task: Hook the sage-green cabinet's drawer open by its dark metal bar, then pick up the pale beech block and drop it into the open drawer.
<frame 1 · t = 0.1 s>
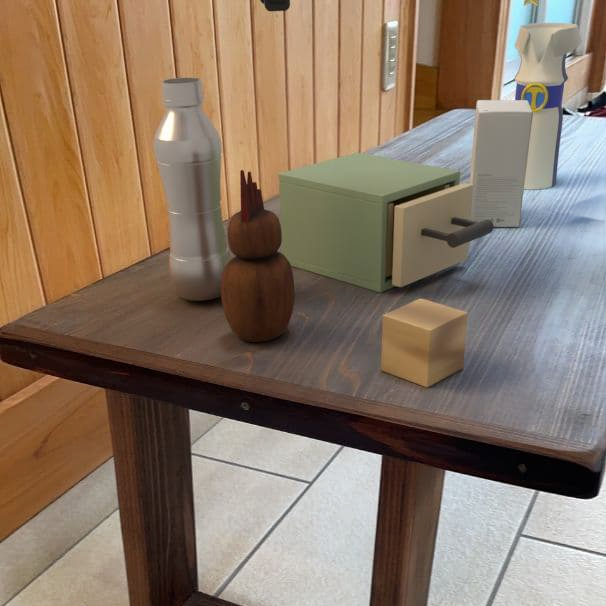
hand: (274, 7, 78), 25 cm above the table, tool pointing down, fingers open, 8 cm apart
cabinet: (367, 262, 96), on the table
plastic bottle: (203, 298, 89), on the table
drawer: (404, 227, 90), point 5 cm above the table, slide at 1.0 cm
wooden figurine: (261, 337, 80), on the table
spray bottle: (529, 184, 122), on the table
block: (422, 369, 73), on the table
small box: (492, 220, 108), on the table
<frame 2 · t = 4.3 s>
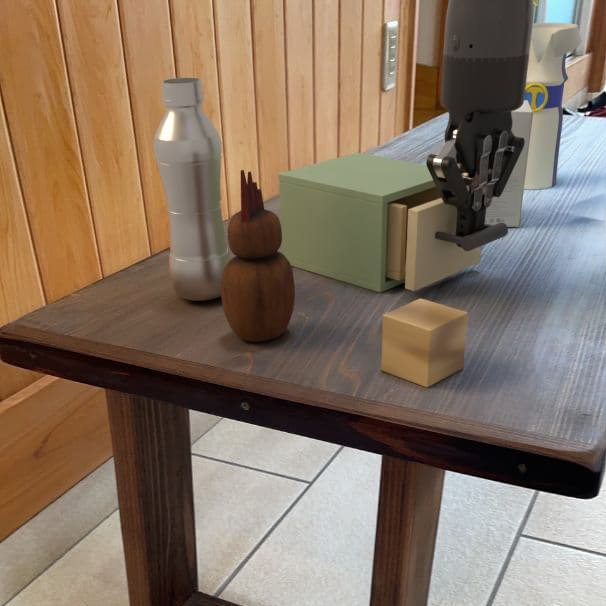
hand: (468, 246, 85), 4 cm above the table, tool pointing down, fingers closed
drawer: (417, 230, 89), point 5 cm above the table, slide at 2.7 cm
everything else where it was.
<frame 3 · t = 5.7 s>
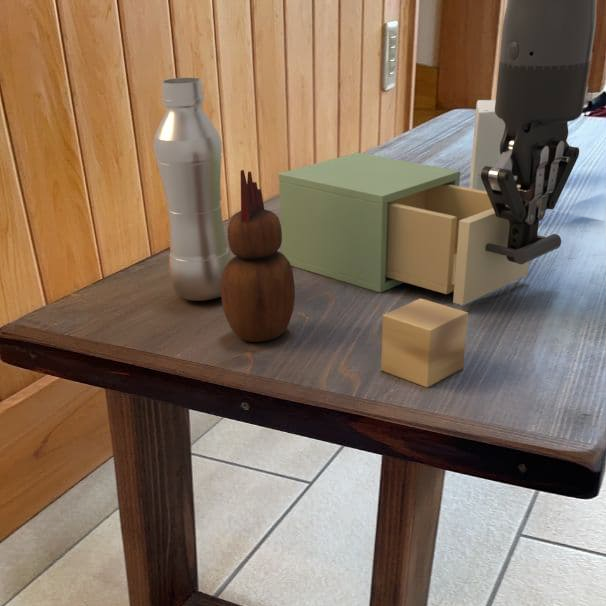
hand: (520, 260, 82), 4 cm above the table, tool pointing down, fingers closed
drawer: (464, 241, 86), point 5 cm above the table, slide at 8.7 cm, touching gripper
everything else where it was.
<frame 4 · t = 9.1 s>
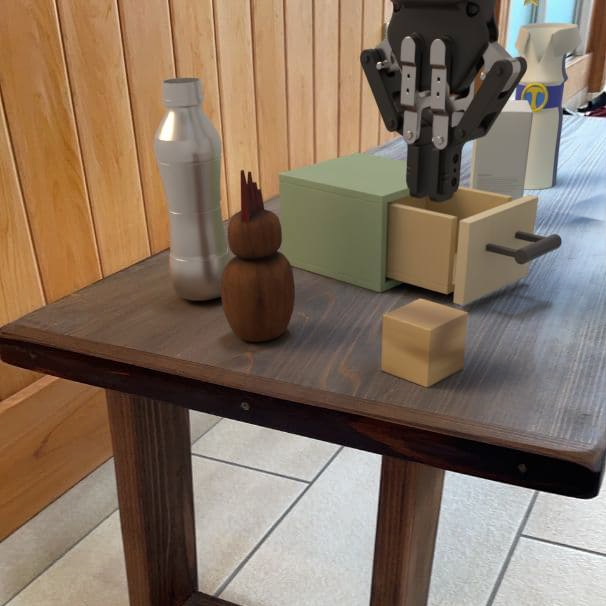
hand: (431, 197, 65), 14 cm above the table, tool pointing down, fingers closed
drawer: (464, 241, 86), point 5 cm above the table, slide at 8.8 cm
everything else where it was.
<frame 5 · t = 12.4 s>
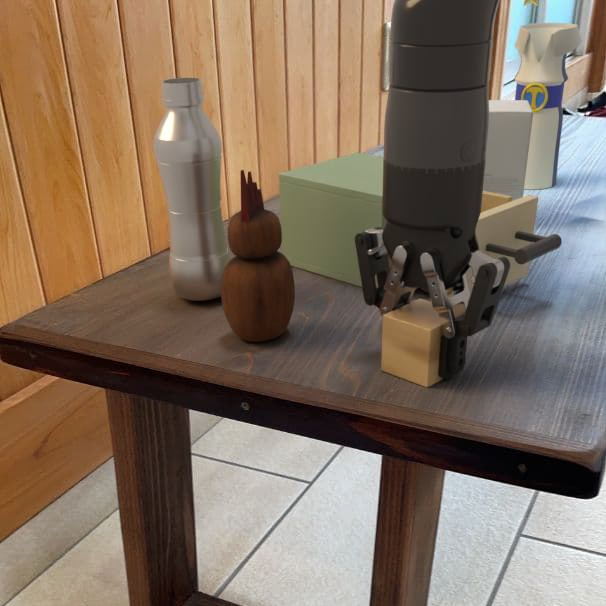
hand: (422, 365, 73), 0 cm above the table, tool pointing down, fingers closed on block, 5 cm apart
block: (422, 369, 73), on the table, touching gripper
everything else where it was.
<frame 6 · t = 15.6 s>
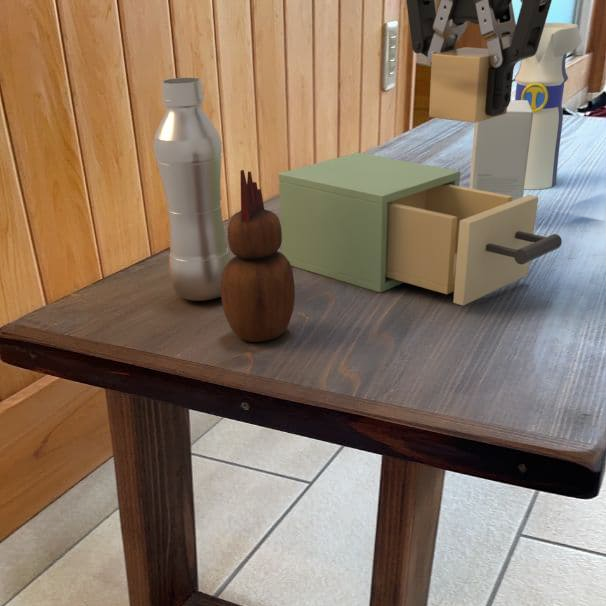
hand: (468, 110, 77), 17 cm above the table, tool pointing down, fingers closed on block, 5 cm apart
block: (467, 115, 77), point 17 cm above the table, touching gripper
everything else where it was.
when the fingers open (7 cm above the table, at t = 18.8 s): block drops 5 cm, resting on drawer.
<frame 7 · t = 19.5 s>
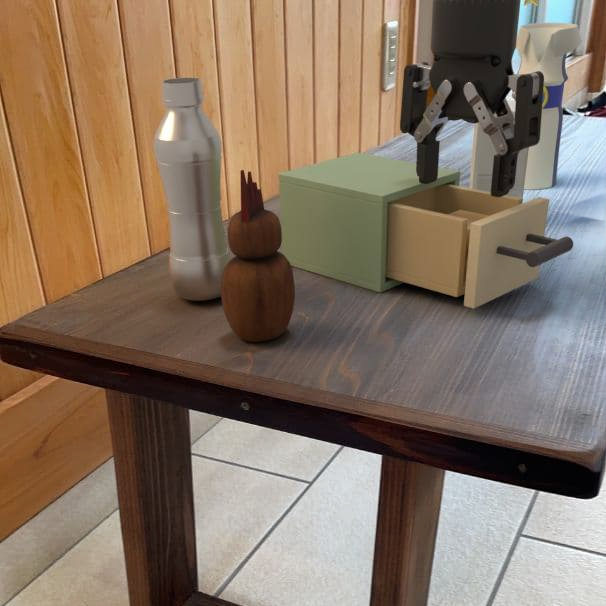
hand: (462, 188, 83), 10 cm above the table, tool pointing down, fingers open, 8 cm apart
drawer: (474, 244, 85), point 5 cm above the table, slide at 10.0 cm, touching block
block: (461, 269, 87), point 2 cm above the table, touching drawer
everything else where it was.
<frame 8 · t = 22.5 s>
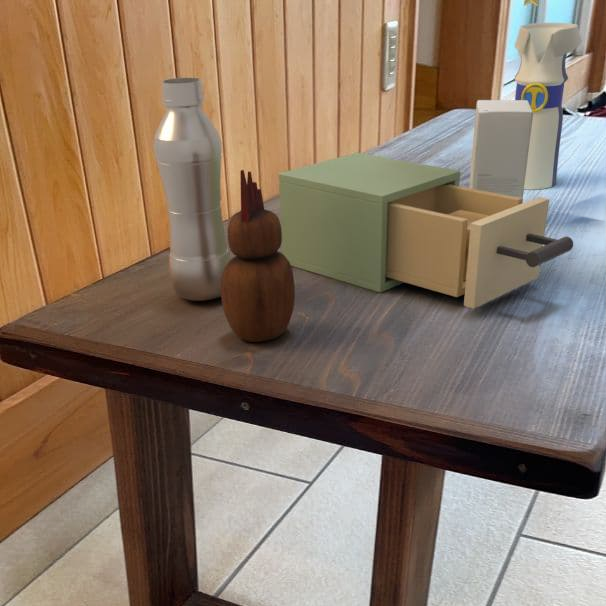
nothing on the table moved.
at the end: drawer slide at 10.0 cm; block inside the target area in the cabinet (7.8 cm from its centre), point 2.0 cm above the cabinet's base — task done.
